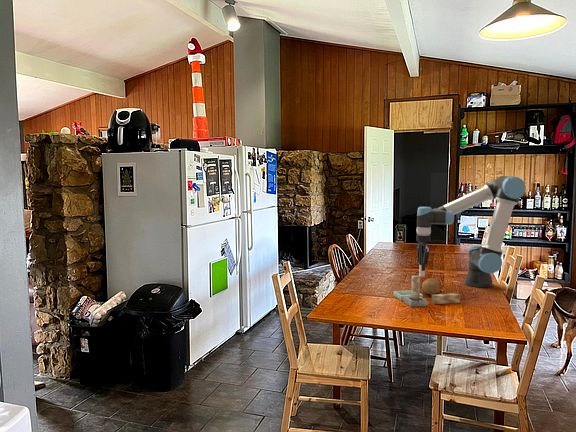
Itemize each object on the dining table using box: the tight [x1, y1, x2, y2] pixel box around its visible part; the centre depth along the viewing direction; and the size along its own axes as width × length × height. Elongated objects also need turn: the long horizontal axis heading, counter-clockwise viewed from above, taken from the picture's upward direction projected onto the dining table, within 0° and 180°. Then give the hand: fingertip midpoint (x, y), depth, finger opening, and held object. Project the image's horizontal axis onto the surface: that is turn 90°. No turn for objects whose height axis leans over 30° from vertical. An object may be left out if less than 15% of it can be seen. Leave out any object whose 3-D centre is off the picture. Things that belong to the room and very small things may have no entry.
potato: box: [421, 277, 442, 296], centre depth 246 cm, size 10×14×8 cm
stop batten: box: [431, 292, 461, 305], centre depth 231 cm, size 14×3×4 cm, turn 99°
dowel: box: [411, 275, 421, 301], centre depth 229 cm, size 4×4×14 cm
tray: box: [393, 289, 424, 302], centre depth 240 cm, size 12×10×2 cm
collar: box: [402, 296, 429, 307], centre depth 229 cm, size 9×9×2 cm
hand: (421, 276), depth 256 cm, fingers closed
